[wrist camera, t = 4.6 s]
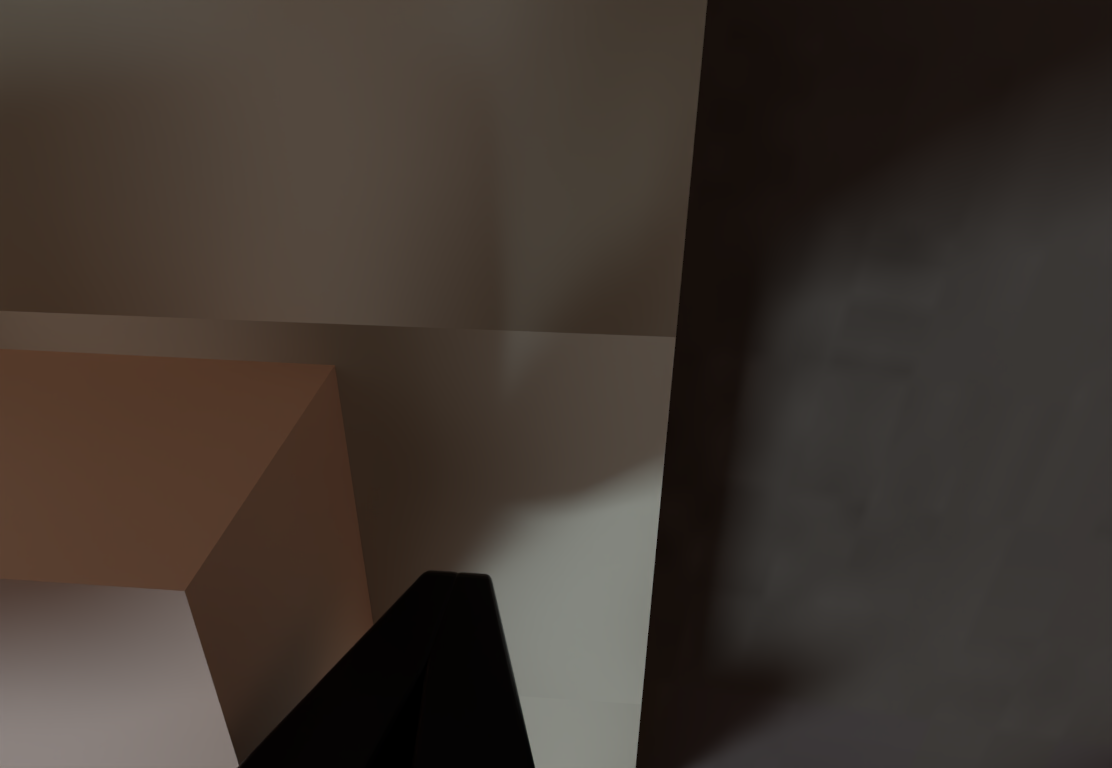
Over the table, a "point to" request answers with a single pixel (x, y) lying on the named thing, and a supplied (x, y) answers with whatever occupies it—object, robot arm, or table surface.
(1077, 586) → the table surface
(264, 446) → the block
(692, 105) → the shallow wooden tray
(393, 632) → the robot arm
